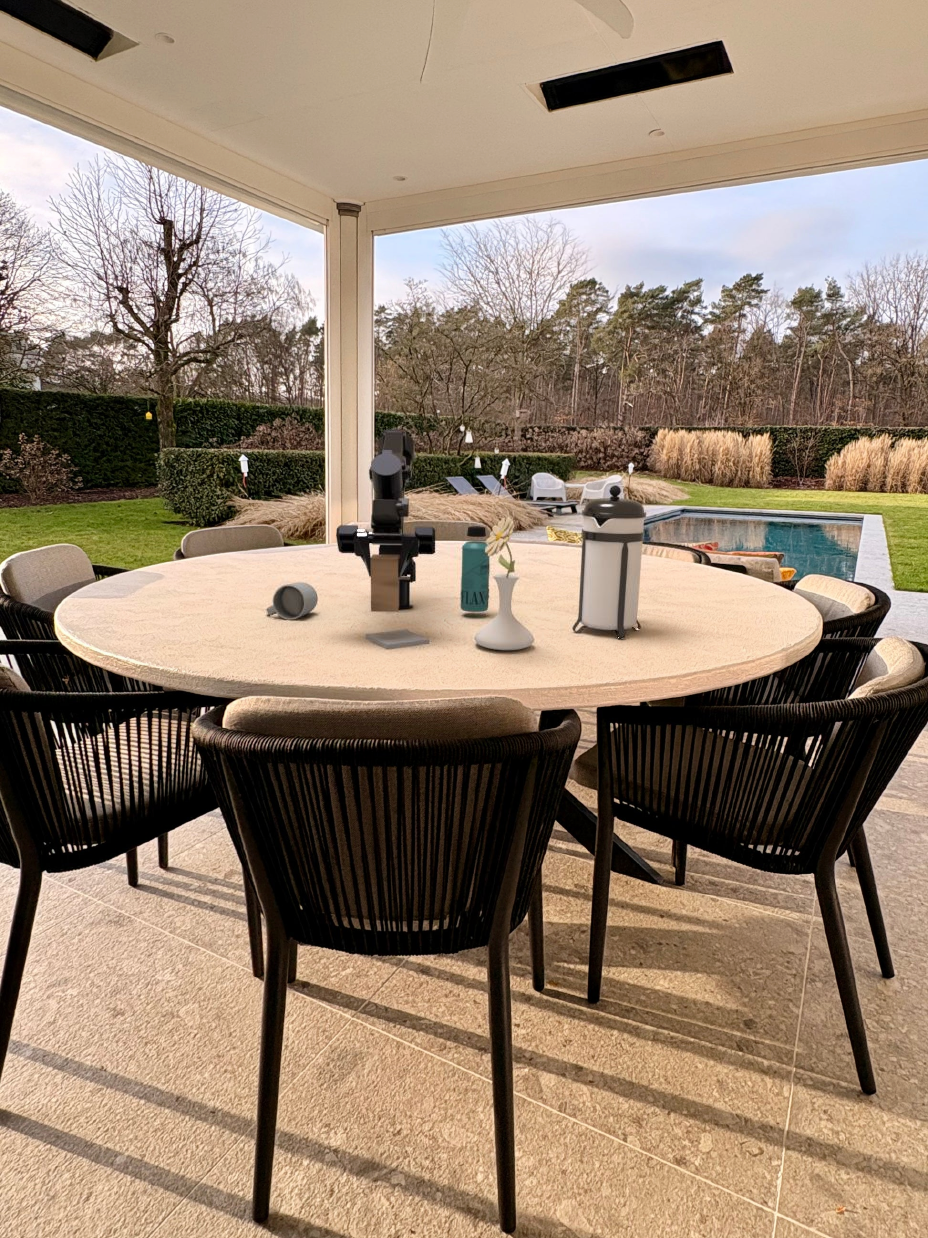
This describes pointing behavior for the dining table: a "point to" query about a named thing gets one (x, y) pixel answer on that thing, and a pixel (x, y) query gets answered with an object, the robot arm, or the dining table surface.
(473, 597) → the beverage bottle
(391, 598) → the walnut post
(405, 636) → the upper grey slab
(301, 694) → the dining table surface
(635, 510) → the coffee press
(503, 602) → the flower in vase
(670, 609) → the dining table surface
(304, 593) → the ceramic mug
